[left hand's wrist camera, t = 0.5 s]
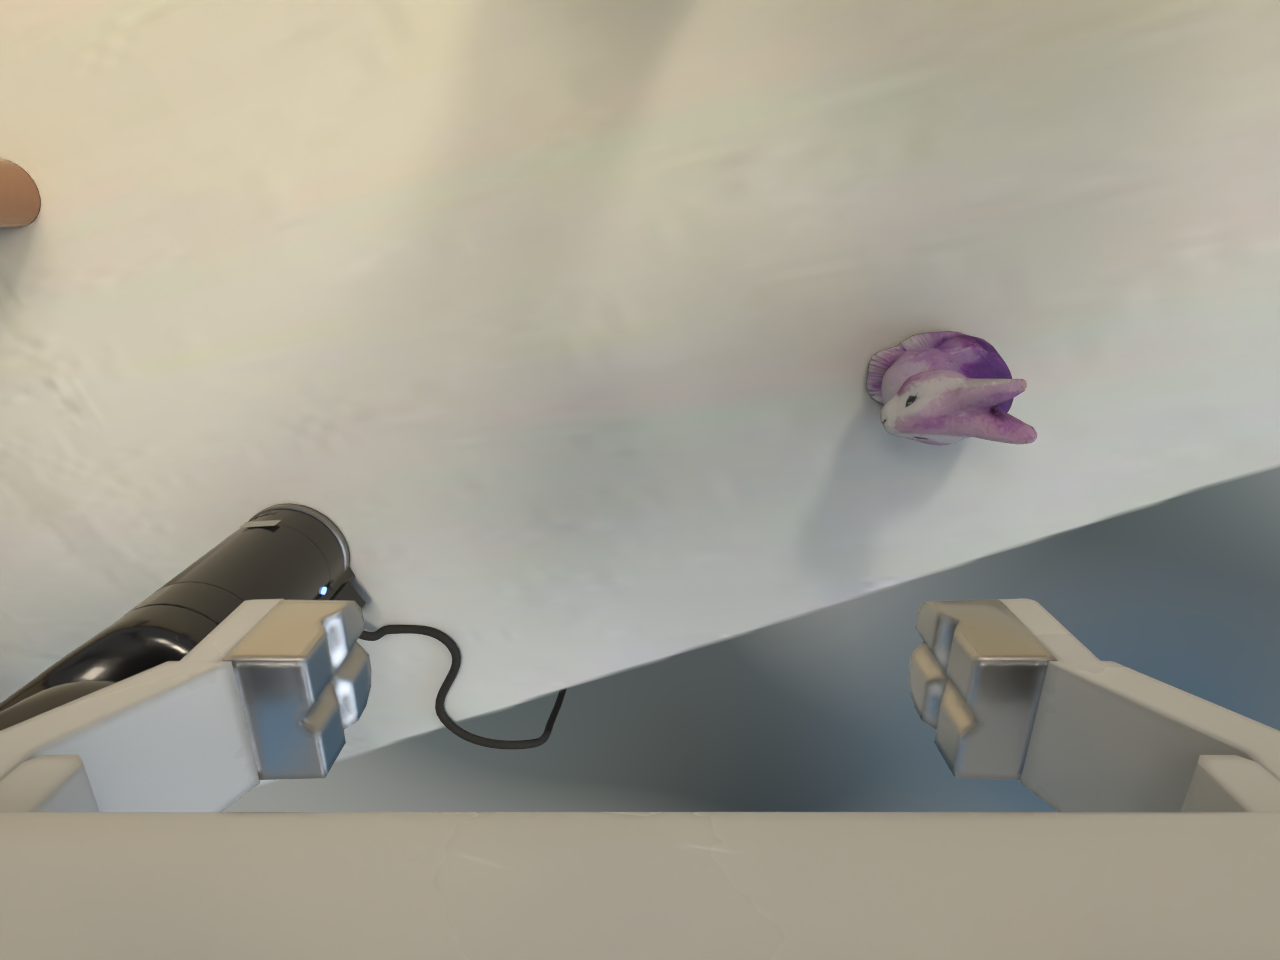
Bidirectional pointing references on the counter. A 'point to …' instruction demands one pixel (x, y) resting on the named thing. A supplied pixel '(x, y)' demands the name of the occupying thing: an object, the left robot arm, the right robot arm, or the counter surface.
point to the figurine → (947, 390)
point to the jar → (17, 196)
